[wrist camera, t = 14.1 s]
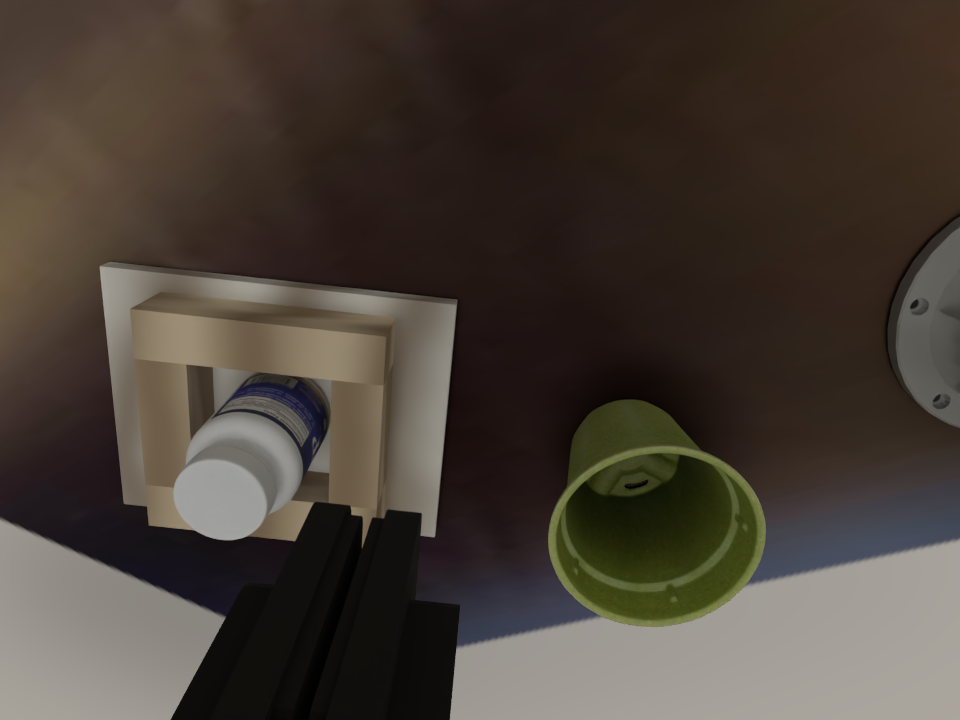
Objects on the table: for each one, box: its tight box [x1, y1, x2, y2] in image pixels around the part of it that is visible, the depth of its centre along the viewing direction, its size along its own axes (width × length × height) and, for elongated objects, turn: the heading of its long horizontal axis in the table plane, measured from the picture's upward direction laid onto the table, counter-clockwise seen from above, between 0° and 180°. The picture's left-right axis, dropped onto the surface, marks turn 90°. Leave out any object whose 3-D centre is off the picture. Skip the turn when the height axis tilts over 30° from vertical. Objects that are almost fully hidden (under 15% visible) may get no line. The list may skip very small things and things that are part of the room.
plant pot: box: [548, 400, 766, 627], centre depth 34 cm, size 9×9×9 cm
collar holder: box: [100, 262, 458, 547], centre depth 36 cm, size 18×14×4 cm
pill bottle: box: [173, 372, 330, 540], centre depth 32 cm, size 5×5×9 cm
